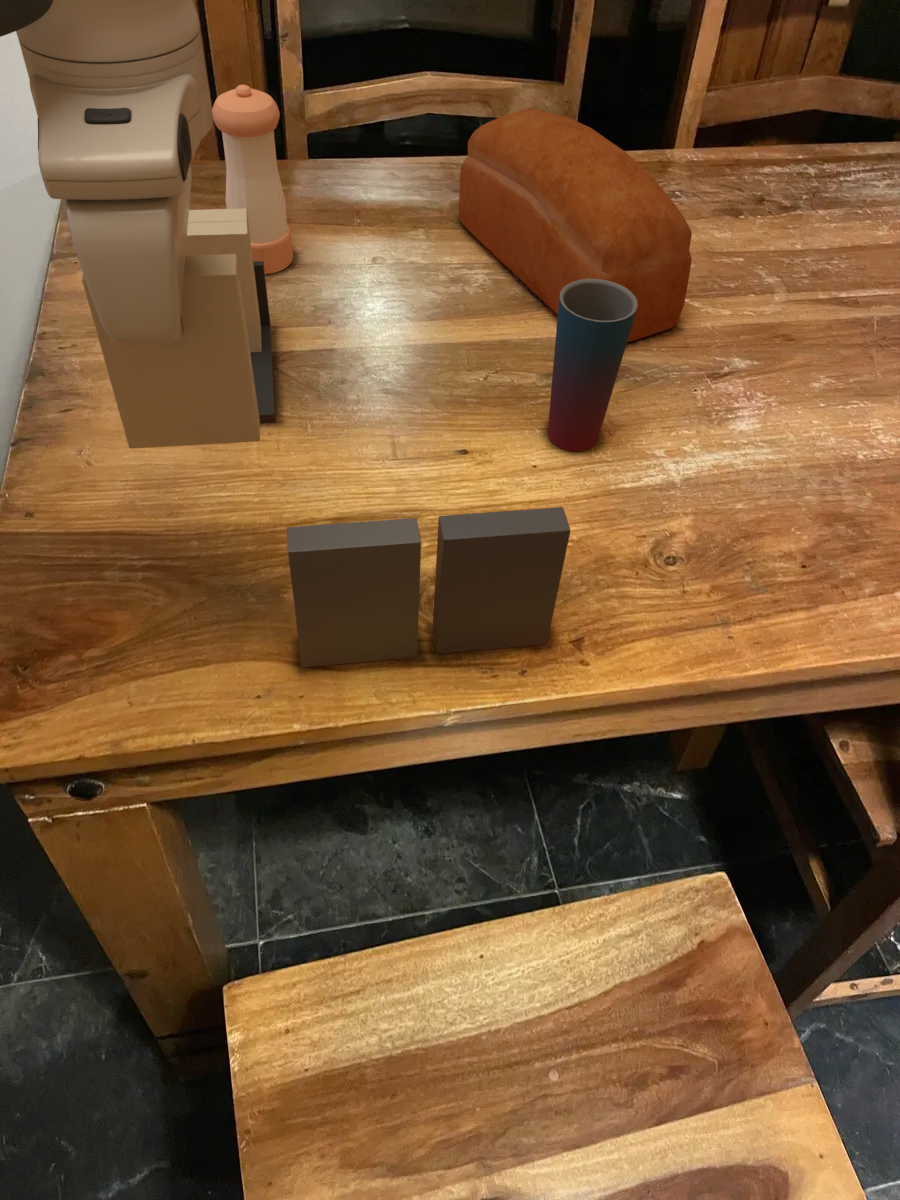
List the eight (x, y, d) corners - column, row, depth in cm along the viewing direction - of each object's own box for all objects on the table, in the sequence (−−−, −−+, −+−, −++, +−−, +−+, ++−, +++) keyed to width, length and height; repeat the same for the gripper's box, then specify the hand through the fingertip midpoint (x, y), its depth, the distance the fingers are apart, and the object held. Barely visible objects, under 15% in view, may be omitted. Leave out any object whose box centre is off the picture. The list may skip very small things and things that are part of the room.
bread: (538, 197, 124) (553, 71, 112) (691, 325, 106) (728, 190, 94) (446, 217, 119) (453, 88, 107) (590, 355, 101) (616, 217, 89)
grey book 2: (436, 654, 74) (443, 539, 64) (432, 631, 75) (438, 515, 65) (547, 644, 75) (571, 530, 65) (540, 621, 76) (563, 506, 67)
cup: (541, 409, 95) (561, 274, 83) (608, 418, 94) (638, 283, 83) (535, 453, 90) (556, 316, 79) (606, 462, 90) (637, 326, 78)
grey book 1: (301, 667, 72) (287, 552, 62) (300, 643, 74) (286, 526, 64) (417, 657, 73) (421, 542, 64) (413, 633, 75) (416, 517, 65)
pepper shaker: (230, 275, 108) (206, 100, 93) (230, 243, 113) (207, 72, 98) (294, 273, 109) (279, 100, 94) (291, 241, 114) (277, 71, 99)
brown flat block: (129, 449, 65) (81, 279, 55) (131, 427, 67) (85, 258, 57) (260, 441, 66) (236, 274, 56) (259, 420, 68) (236, 253, 58)
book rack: (159, 428, 90) (129, 298, 79) (167, 333, 100) (140, 206, 89) (275, 421, 91) (260, 293, 81) (271, 328, 101) (257, 203, 91)
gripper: (82, 20, 55) (132, 240, 66) (32, 183, 42) (104, 425, 53) (192, 20, 56) (224, 237, 66) (175, 180, 43) (218, 419, 53)
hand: (171, 322), depth 59 cm, fingers closed on brown flat block, 2 cm apart
